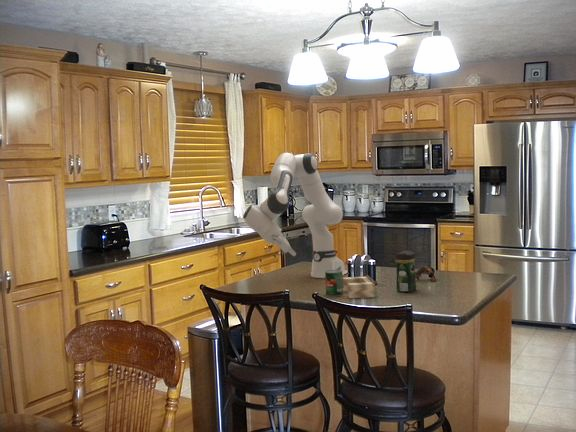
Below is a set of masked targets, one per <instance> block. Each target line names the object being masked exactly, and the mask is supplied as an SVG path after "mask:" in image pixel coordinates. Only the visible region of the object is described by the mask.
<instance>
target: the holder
mask: <svg viewBox="0 0 576 432" xmlns="http://www.w3.org/2000/svg"><path fill="white" fill-rule="evenodd" d="M342 278H343V285H344V288H343V292H346V293H347V295H348V296H347V297H348V298H349V299H361V298H363V299H364V298H376V282H375V281H374V279H373V278H371V277H370V276H369V275H368V274H366V275H365V276H349V277H342Z"/></svg>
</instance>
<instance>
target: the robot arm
mask: <svg viewBox="0 0 576 432" xmlns="http://www.w3.org/2000/svg"><path fill="white" fill-rule="evenodd" d="M318 166H319V164H318V159H317V157H316V155H314V154H313V153H310V152H308V153H307V152H306V153H304V154H303V153H302V154H301V153H300V154H292V153H291V152H283V153H281V154H280V155H279V156H278V158H277V159H276V160H275V162H274V164H273V166H272V168H271V171H270V176H269V177H270V181H271V183H272V185H274V186H275V187H276V188H275V190H274V191H272V193H270V195H268V197H267V198H266V199H265V200H264V201H263V202H261V203H259V204H254V205H253V204H251V205H249V206H248V207H247V209H246V210H245V211H244V213H243V216H242V218H243V220H244V222H245V223H246V224H247V226H248V227H249V228H250V229H251V230H253V231H254V232H256V233H257V234H258V235H259V236H260V238H262V239H263V240H264V241H265V243H267V244H268V245H270V244H272V245H276V246H277V247H278V248H279V249H280V250H281V251H282V252H283V253H285V254H287V253H289V254H290V255H291V256H293V257H296V255H297V252H296V251H295V250H294V249H293V248H292V247H291V245H290V242H289V241H288V240H287V238H286V237H285V236H284V235H283V233H282V230H283V229H282V228H281V227H279V226H278V225H277V223H275V222H274V221H275V220H276V219H278V218H279V216H281V215H282V214H283V213H284V212H286V211H287V210H288V209H289V207H290V191H291V188H292V183H293V179H294V178H295V179H296V178H298V181H299V184H300V187H301V190H302V192H303V196H304V197H305V199H306V200H307V201H308V202H309V203H310V204H307V205H306V206H303V209H302V212H301V216H302V219H303V221H304V222H305V223H306V224H307V225H308V227H309V230H310V232H311V238H312V249H313V250H312V253H311V254H312V261H311V272H310V276H311V278H317V279H326V278H325V271H328V270H342V275H343V276H345V275H344V274H346V273H347V271H348V270H346V266H345V263H344V262H343V260H341V259H340V258H339V257H338V256H337V254H339V253H340V250H339V249H335V248H334V245H335V244H334V243H335V242H334V235H333V233H332V232H330V230H329V229H328V225H329V226H331V225H337V224H339V223H340V222H341V221H342V219H343V216H344V214H343V213H344V212H343V209H342V208H341V207H340V206H339V205H338V204H336V203H335V202H334V201H333V200H332V198H331V197H330V196H329V195H328V192H327V191H326V189H325V187H324V184H323V181H322V179H321V176H320V175H321V174H320V173H319V171H318ZM346 275H347V274H346Z"/></svg>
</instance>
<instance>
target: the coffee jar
mask: <svg viewBox="0 0 576 432" xmlns="http://www.w3.org/2000/svg"><path fill="white" fill-rule="evenodd" d="M394 256H395V266H396V268H395V269H396V270H395V271H396V272H395V273H396V291H397V292H399V293H411V292H414V291H415V290H416V289H417V283H416V282H417V278H415V272H416V268H415V267H416V266H415V263H416V262H415V261H416V255H415V252H414V251H413V250H402V251H400V252H397V253H396V254H395V255H394Z"/></svg>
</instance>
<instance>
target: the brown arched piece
mask: <svg viewBox="0 0 576 432" xmlns="http://www.w3.org/2000/svg"><path fill="white" fill-rule="evenodd" d="M422 275H428V278H430V279H431V282H435V281H436V280H437V279H436V277H435V269H434V267H432V266H431V267H428V266H426V265H425V266H423V267H421V268H419V269H417V270H416V271H415V279H416V281H419V280H420V278H422Z"/></svg>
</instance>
